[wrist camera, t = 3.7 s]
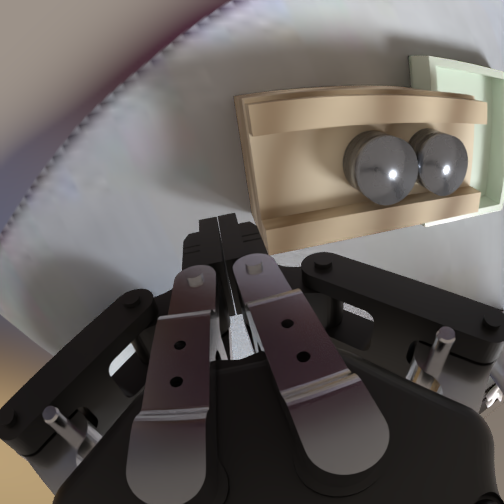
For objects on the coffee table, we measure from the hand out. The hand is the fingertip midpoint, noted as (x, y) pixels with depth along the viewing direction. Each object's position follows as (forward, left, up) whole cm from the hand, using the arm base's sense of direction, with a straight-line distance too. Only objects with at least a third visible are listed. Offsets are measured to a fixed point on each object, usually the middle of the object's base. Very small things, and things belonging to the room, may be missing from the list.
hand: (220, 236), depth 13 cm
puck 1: (-11, 0, -7) cm, 13 cm away
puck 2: (-16, 0, -7) cm, 17 cm away
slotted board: (-12, 0, -13) cm, 17 cm away
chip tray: (-25, 0, -13) cm, 28 cm away
